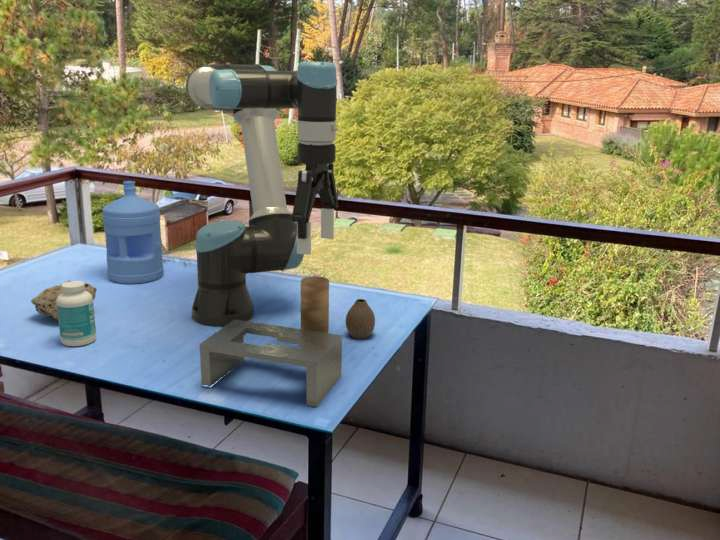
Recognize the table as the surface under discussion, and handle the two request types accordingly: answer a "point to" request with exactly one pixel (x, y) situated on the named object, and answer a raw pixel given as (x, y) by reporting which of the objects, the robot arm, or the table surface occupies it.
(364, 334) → the vase
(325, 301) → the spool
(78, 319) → the pill bottle
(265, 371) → the table surface
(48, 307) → the pumice stone
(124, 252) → the water jug
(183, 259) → the table surface
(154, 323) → the table surface
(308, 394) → the keyhole plate
